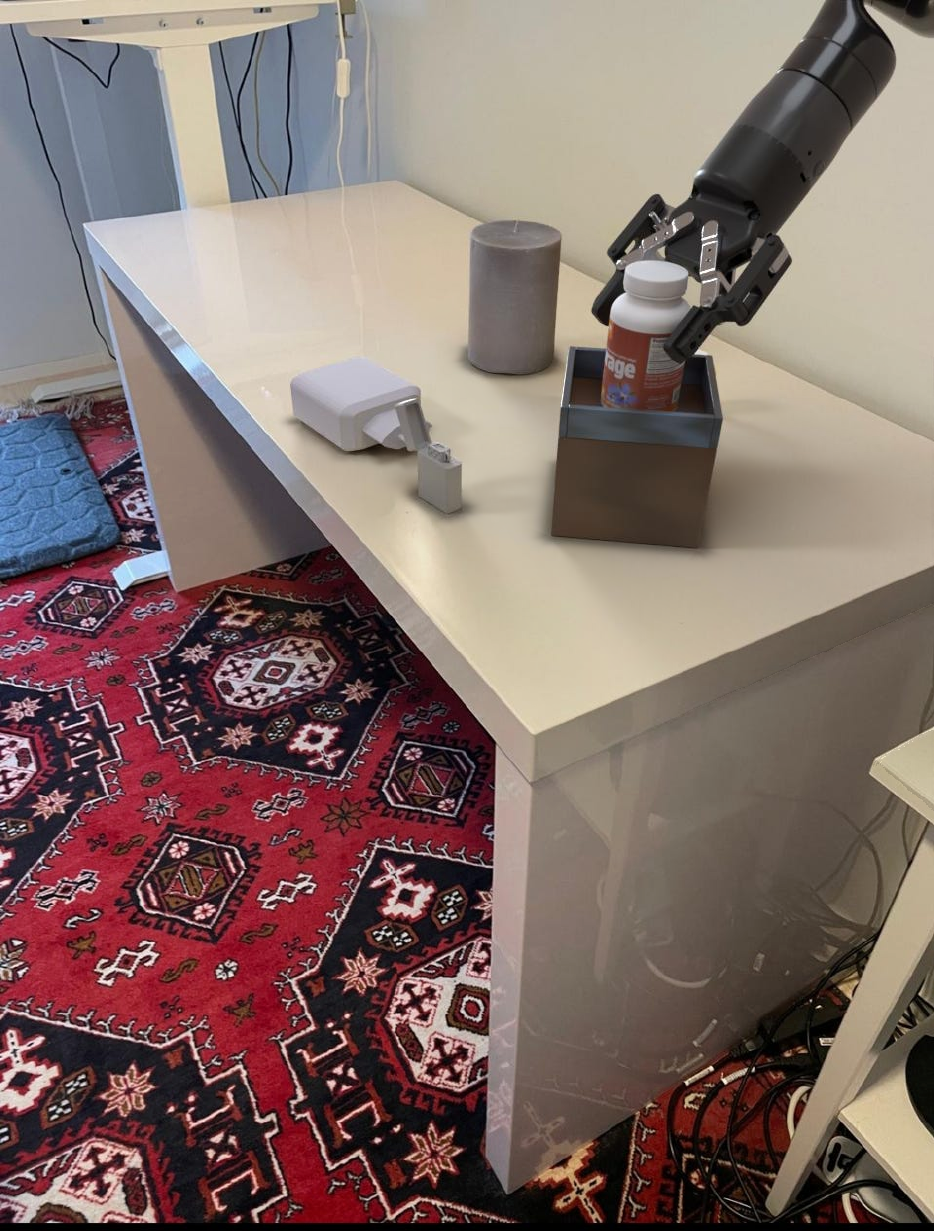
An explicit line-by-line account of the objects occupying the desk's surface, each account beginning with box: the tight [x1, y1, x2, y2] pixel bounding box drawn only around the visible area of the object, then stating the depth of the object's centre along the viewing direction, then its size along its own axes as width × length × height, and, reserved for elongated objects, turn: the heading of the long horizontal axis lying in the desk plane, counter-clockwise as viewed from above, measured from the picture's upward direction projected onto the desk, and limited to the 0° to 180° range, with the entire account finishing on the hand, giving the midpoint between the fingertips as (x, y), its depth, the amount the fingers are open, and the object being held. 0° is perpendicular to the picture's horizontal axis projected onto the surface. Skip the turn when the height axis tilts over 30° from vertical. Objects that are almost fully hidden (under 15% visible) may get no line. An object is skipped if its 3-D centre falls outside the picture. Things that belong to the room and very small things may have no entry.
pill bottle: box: [601, 261, 692, 412], centre depth 74 cm, size 6×6×11 cm
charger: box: [289, 356, 433, 452], centre depth 91 cm, size 5×9×15 cm
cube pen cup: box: [550, 345, 724, 549], centre depth 79 cm, size 12×12×12 cm
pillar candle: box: [467, 219, 563, 375], centre depth 103 cm, size 10×10×15 cm
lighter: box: [395, 398, 463, 515], centre depth 81 cm, size 7×2×8 cm, turn 40°
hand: (633, 337), depth 73 cm, fingers open, 8 cm apart
